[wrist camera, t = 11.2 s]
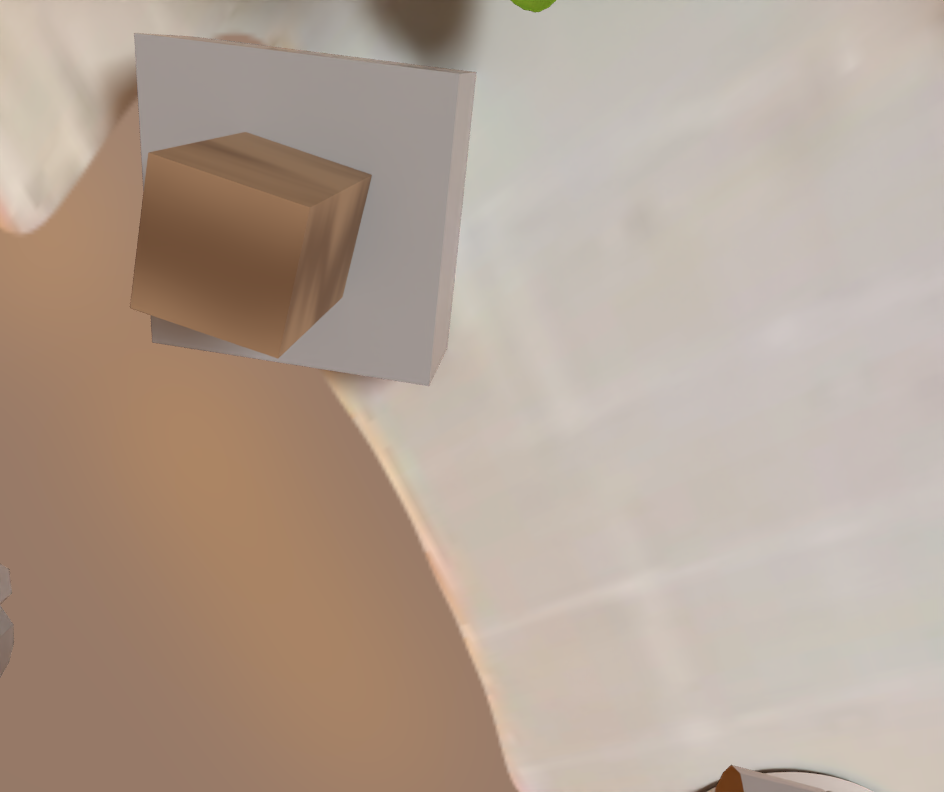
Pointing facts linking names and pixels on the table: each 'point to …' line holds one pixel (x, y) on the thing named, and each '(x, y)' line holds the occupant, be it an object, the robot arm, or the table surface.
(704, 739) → the table surface
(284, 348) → the walnut block
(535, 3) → the potted flower
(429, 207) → the plate
